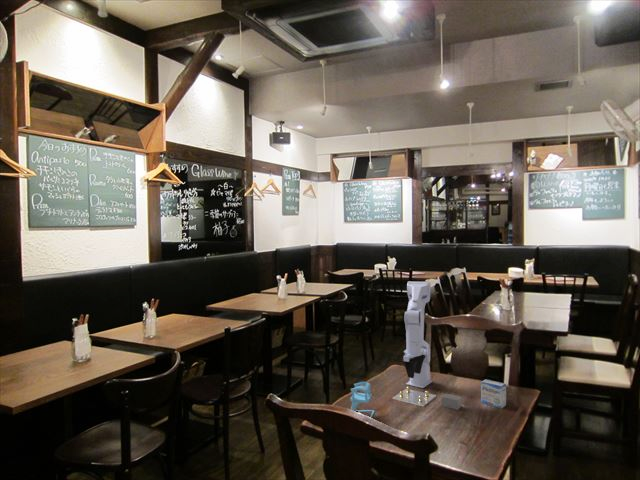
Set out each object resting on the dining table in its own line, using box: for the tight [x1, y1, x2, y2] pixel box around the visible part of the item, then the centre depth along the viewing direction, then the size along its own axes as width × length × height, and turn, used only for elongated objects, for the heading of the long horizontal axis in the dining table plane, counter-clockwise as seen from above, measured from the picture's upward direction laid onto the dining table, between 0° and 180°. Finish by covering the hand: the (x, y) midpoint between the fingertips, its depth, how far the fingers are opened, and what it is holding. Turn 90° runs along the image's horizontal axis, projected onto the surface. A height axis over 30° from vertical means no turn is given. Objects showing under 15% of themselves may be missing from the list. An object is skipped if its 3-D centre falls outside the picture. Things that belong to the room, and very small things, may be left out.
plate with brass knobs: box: [392, 386, 437, 407], centre depth 172 cm, size 12×13×3 cm
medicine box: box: [480, 378, 507, 409], centre depth 164 cm, size 8×4×9 cm, turn 47°
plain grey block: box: [441, 393, 462, 411], centre depth 163 cm, size 9×11×5 cm
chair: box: [349, 381, 375, 417], centre depth 157 cm, size 8×8×12 cm
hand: (414, 375), depth 172 cm, fingers open, 6 cm apart
